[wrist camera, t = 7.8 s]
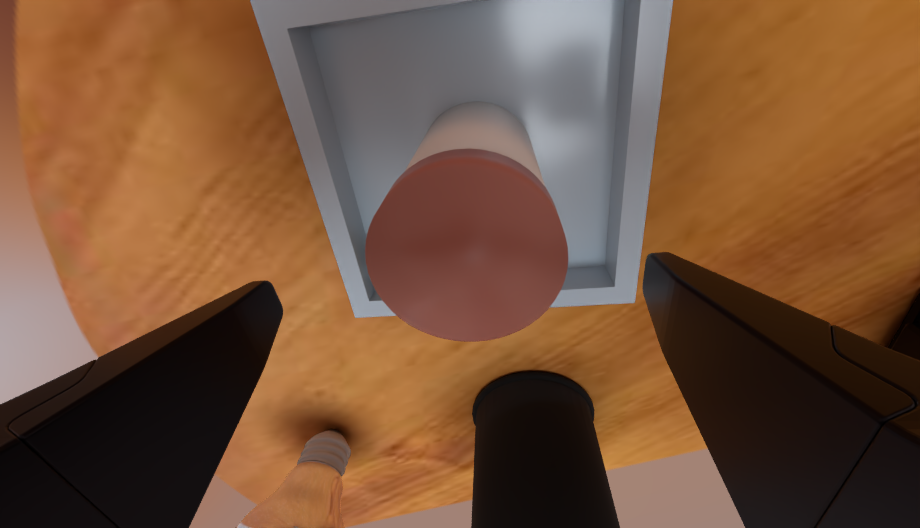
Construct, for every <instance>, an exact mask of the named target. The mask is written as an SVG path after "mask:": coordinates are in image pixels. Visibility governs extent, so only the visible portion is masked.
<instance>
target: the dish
mask: <svg viewBox="0 0 920 528" xmlns="http://www.w3.org/2000/svg"><path fill="white" fill-rule="evenodd" d="M250 2H251V5H252V8H253V11H254V14H255V17H256V20H257V23H258V26H259V29H260V32H261V35H262V38H263V41H264V44H265V47H266V50H267V53H268V56H269V59H270V62H271V65H272V68H273V71H274V74H275V77H276V80H277V83H278V86H279V89H280V92H281V95H282V98H283V101H284V104H285V107H286V110H287V113H288V116H289V119H290V122H291V125H292V128H293V131H294V134H295V137H296V140H297V143H298V146H299V149H300V152H301V155H302V158H303V161H304V164H305V167H306V170H307V173H308V176H309V179H310V182H311V185H312V188H313V191H314V194H315V197H316V200H317V203H318V206H319V209H320V212H321V215H322V218H323V222H324V225H325V228H326V231H327V234H328V237H329V240H330V243H331V246H332V249H333V252H334V255H335V258H336V261H337V264H338V267H339V270H340V273H341V276H342V279H343V282H344V285H345V288H346V291H347V294H348V297H349V300H350V303H351V306H352V309H353V312H354V315H355V318H360V317H379V316H397V315H396V314H395V313H393V312H392V311H391V310H390V309H389V308H388V306H387V305H386V304H385V303H384V302H383V301H382V299H381V298H380V296H379V295H378V294H377V292H376V290H375V288H374V286H373V284H372V282H371V279H370V277H369V274H368V270H367V265H366V258H365V245H366V237H367V233H368V229H369V226H370V224H371V221H372V219H373V217H374V215H375V213H376V212H377V210H378V208H379V207H380V205H381V203H382V202H383V200H384V198H385V197H386V195H387V194H388V192H389V190H390V189H391V187H392V185H393V184H394V183H395V181H396V180H397V179H398V178H399V177H400V176H401V175H402V174H403V173H404V172H405V170H406V168H407V166H408V165H409V163H410V161H411V159H412V158H413V156H414V154H415V152H416V151H417V149H418V147H419V146H420V144H421V142H422V140H423V139H424V137H425V135H426V133H427V132H428V130H429V128H430V127H431V125H432V124H433V123H434V121H435V120H436V119H437V118H438V117H439V116H440V115H441V114H442V113H444V112H445V111H447V110H448V109H450V108H452V107H454V106H456V105H459V104H462V103H467V102H475V101H480V102H488V103H492V104H496V105H498V106H501V107H503V108H504V109H506V110H508V111H509V112H511V113H512V114H513V115H514V116H515V117H516V118H517V119H518V120H519V121H520V122H521V123H522V125H523V126H524V127H525V129H526V131H527V133H528V135H529V138H530V140H531V144H532V147H533V150H534V153H535V156H536V159H537V162H538V166H539V169H540V172H541V175H542V178H543V181H544V184H545V187H546V189H547V190H548V192H549V194H550V196H551V197H552V199H553V202H554V204H555V207H556V209H557V212H558V215H559V218H560V221H561V224H562V227H563V230H564V233H565V236H566V241H567V245H568V269H567V273H566V277H565V281H564V284H563V286H562V288H561V291H560V293H559V294H558V296H557V298H556V299H555V301H554V302H553V303H552V305H551V306H550V307H567V306H585V305H604V304H623V303H635V297H636V289H637V281H638V274H639V266H640V258H641V250H642V242H643V234H644V226H645V218H646V210H647V202H648V195H649V187H650V179H651V171H652V163H653V155H654V147H655V139H656V131H657V123H658V116H659V108H660V100H661V92H662V84H663V76H664V68H665V60H666V52H667V44H668V37H669V29H670V21H671V13H672V5H673V0H250Z"/></svg>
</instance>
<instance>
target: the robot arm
mask: <svg viewBox="0 0 920 528" xmlns="http://www.w3.org/2000/svg"><path fill="white" fill-rule="evenodd" d="M643 294H644V297H645V300H646V303H647V307H648V310H649V313H650V316H651V319H652V322H653V325H654V328H655V331H656V334H657V337H658V341H659V343H660V346H661V349H662V352H663V354H664V356H665V359H666V361H667V363H668V365H669V367H670V369H671V371H672V373H673V376H674V378H675V380H676V382H677V384H678V386H679V388H680V390H681V392H682V395H683V397H684V399H685V401H686V403H687V405H688V407H689V409H690V412H691V414H692V416H693V418H694V420H695V422H696V424H697V426H698V428H699V431H700V433H701V435H702V437H703V439H704V441H705V443H706V445H707V447H708V450H709V452H710V454H711V456H712V458H713V460H714V462H715V464H716V466H717V469H718V471H719V473H720V475H721V477H722V479H723V481H724V483H725V485H726V488H727V490H728V492H729V494H730V496H731V498H732V500H733V502H734V505H735V507H736V509H737V511H738V513H739V515H740V517H741V519H742V521H743V524H744V526H745V528H920V294H919V296H918V297H917V299H916V301H915V303H914V304H913V306H912V308H911V310H910V311H909V313H908V315H907V317H906V318H905V320H904V322H903V323H902V325H901V327H900V329H899V330H898V332H897V334H896V336H895V337H894V339H893V341H892V342H891V344H890V346H889V348H887V347H884V346H882V345H880V344H877V343H875V342H873V341H870V340H868V339H865V338H863V337H861V336H858V335H856V334H854V333H852V332H849V331H847V330H845V329H843V328H840V327H838V326H836V325H832V326H831V325H830V323H829V322H826V321H824V320H822V319H820V318H817V317H815V316H813V315H810V314H808V313H806V312H804V311H801V310H799V309H797V308H794V307H792V306H790V305H788V304H785V303H783V302H781V301H778V300H776V299H774V298H772V297H769V296H767V295H765V294H762V293H760V292H758V291H756V290H753V289H751V288H749V287H747V286H744V285H742V284H740V283H737V282H735V281H733V280H731V279H728V278H726V277H724V276H721V275H719V274H717V273H715V272H712V271H710V270H708V269H706V268H703V267H701V266H699V265H696V264H694V263H692V262H690V261H687V260H685V259H683V258H680V257H678V256H676V255H674V254H671V253H669V252H661V253H651V254H649V255H648V256H647V259H646V264H645V271H644V279H643ZM282 316H283V308H282V305H281V302H280V300H279V298H278V296H277V294H276V291H275V289H274V287H273V285H272V284H271V283H270V282H269V281H253V282H250V283H248V284H246V285H244V286H242V287H240V288H238V289H236V290H234V291H232V292H230V293H228V294H226V295H224V296H222V297H220V298H218V299H216V300H214V301H212V302H210V303H208V304H206V305H204V306H202V307H200V308H198V309H196V310H194V311H192V312H190V313H188V314H186V315H184V316H182V317H180V318H177V319H175V320H173V321H171V322H169V323H167V324H165V325H163V326H161V327H159V328H157V329H155V330H153V331H151V332H149V333H147V334H145V335H143V336H141V337H139V338H137V339H135V340H133V341H131V342H129V343H127V344H125V345H123V346H121V347H119V348H117V349H115V350H113V351H111V352H109V353H107V354H105V355H103V356H101V357H99V358H98V359H97V360H93V361H91V362H88V363H87V364H85V365H83V366H80V367H79V368H76V369H75V370H72V371H70V372H68V373H66V374H64V375H62V376H60V377H58V378H56V379H54V380H52V381H50V382H47V383H45V384H43V385H41V386H39V387H37V388H35V389H33V390H30V391H28V392H26V393H24V394H22V395H20V396H18V397H15V398H13V399H11V400H9V401H7V402H5V403H2V404H0V528H189V526H190V524H191V522H192V520H193V518H194V516H195V514H196V512H197V509H198V507H199V505H200V503H201V501H202V499H203V496H204V494H205V493H206V490H207V488H208V486H209V484H210V482H211V480H212V478H213V476H214V474H215V471H216V469H217V467H218V465H219V463H220V461H221V459H222V457H223V455H224V452H225V450H226V448H227V446H228V444H229V442H230V440H231V438H232V436H233V433H234V431H235V429H236V427H237V425H238V423H239V421H240V419H241V417H242V414H243V412H244V410H245V408H246V406H247V404H248V402H249V400H250V398H251V395H252V393H253V391H254V389H255V387H256V385H257V383H258V381H259V379H260V376H261V374H262V372H263V370H264V367H265V365H266V362H267V359H268V357H269V354H270V351H271V348H272V345H273V342H274V339H275V337H276V334H277V331H278V328H279V325H280V322H281V319H282Z"/></svg>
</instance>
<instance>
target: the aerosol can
mask: <svg viewBox="0 0 920 528" xmlns="http://www.w3.org/2000/svg"><path fill="white" fill-rule="evenodd" d="M472 415H473V421H474V424H475V426H476V431H475V455H474V478H473V502H472V505H473V506H472V526H471V528H620V526H619V522H618V518H617V514H616V510H615V506H614V503H613V499H612V494H611V490H610V487H609V483H608V479H607V475H606V471H605V467H604V463H603V459H602V455H601V451H600V447H599V443H598V439H597V435H596V432H595V428H594V424H593V421H594V407H593V403H592V401H591V399H590V397H589V396H588V394H587V393H586V392H585V391H584V390H583V389H582V388H581V387H580V386H579V385H577V384H576V383H574V382H573V381H571V380H569V379H567V378H564V377H562V376H559V375H555V374H551V373H544V372H522V373H516V374H511V375H508V376H505V377H502V378H500V379H498V380H496V381H494V382H492V383H491V384H489V385H488V386H487V387H486V388H484V389H483V390H482V391H481V393H480V394H479V395H478V396H477V398H476V401H475V403H474V405H473V412H472Z"/></svg>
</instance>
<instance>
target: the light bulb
mask: <svg viewBox="0 0 920 528" xmlns="http://www.w3.org/2000/svg"><path fill="white" fill-rule="evenodd" d="M350 454H351V450H350V447H349V445H348V444H347V442H346V440H345V438H344V437H343V436H342V434H341V433H340V432H339V431H337V430H334V429H330V430H328V431H324V432H321V433H319V434H317V435H315V436H313V437H312V438H311V439H310V440H308V441H307V443H306V444H305V447H304V450H303V451H302V453H301V457H300V458H299V460H298V463H297V466H295V467H294V468H293V469H292V470H291V471H290V472H289V473H288V475H287V476H286V478H285V480H284V481H283V483H282V484H281V486H280V487H279V488H278V489H277V490H276V491H275V492H274V493H273V494H271V495H270V496H269V497H268V498H266V499H265V500H264V501H262V502H261V503H260V504H258V505H257V506H256V507H255V508H254V509H253V510H252V511H250V512H249V513H248V514H247V515H246V516H245V517H244V518H243V519H242V520H241V522H240V523H239V524H238V525H237V526H236V527H235V528H345V527H344V523H343V519H342V514H341V507H340V504H341V496H342V490H343V483H342V477H341V476H342V475H343V474H344V472H345V467H346V466H347V463H348V459H349V457H350Z"/></svg>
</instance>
